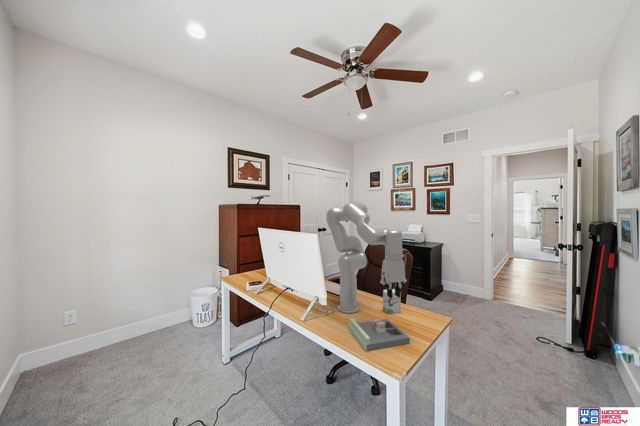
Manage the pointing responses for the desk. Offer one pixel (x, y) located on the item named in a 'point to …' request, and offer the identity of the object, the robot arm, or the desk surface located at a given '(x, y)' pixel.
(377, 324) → the cream block
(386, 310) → the ink box
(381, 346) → the trap deck
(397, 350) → the desk surface
